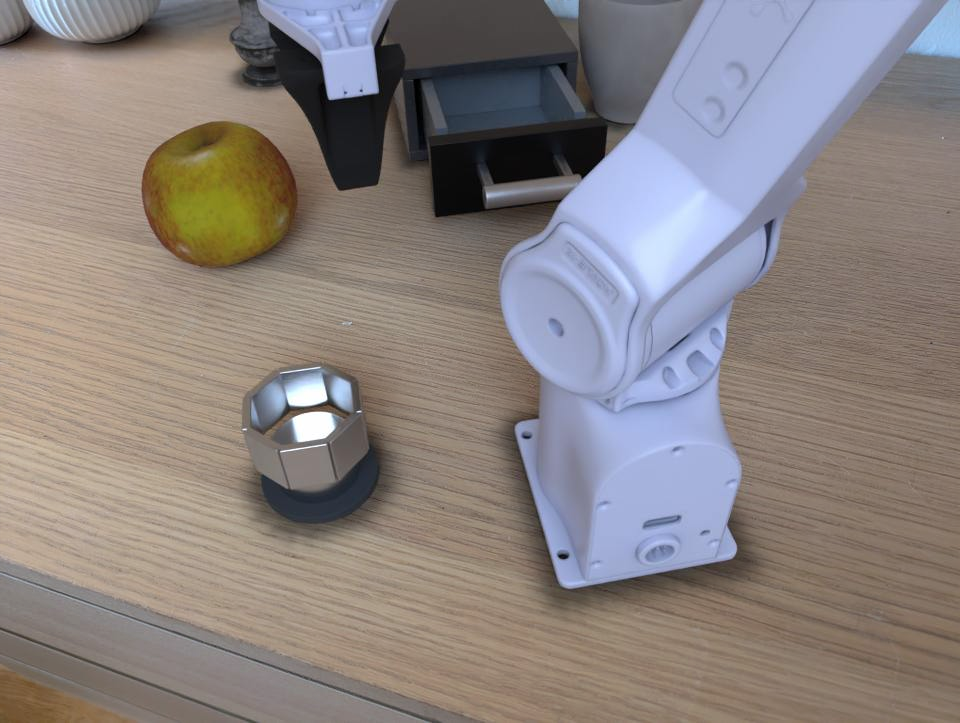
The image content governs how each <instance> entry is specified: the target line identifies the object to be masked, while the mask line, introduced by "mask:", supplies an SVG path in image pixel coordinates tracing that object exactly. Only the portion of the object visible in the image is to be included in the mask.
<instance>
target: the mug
mask: <svg viewBox="0 0 960 723" xmlns="http://www.w3.org/2000/svg"><path fill="white" fill-rule="evenodd" d="M702 2H703V0H578V7H577V8H578V10H577V14H578V15H577V28H578V29H577V30H578V45H579V54H580V60H581V65H582V70H583V75H584V78H585V81H586V84H587V88H588V89H589V92H590V94H591V98H592V101H593V106H594V110H595V112H596V113H597V114H598V115H599V117H600V116H603V118H604V119H605V120H608V121H611V122H613V123H618V124H636V122H637V120H638V119H639V117H640V115H641V113H642V111H643V110H644V108H645V106H646V104H647V102H648V100H649V99H650V97H651V95H652V93H653V91H654V89H655V88H656V86H657V84H658V82H659V80H660V78H661V77H662V75H663V73H664V71H665V69H666V67H667V66H668V64H669V62H670V60H671V58H672V57H673V55H674V53H675V51H676V49H677V47H678V46H679V44H680V42H681V40H682V38H683V36H684V35H685V33H686V31H687V29H688V27H689V25H690V24H691V22H692V20H693V18H694V16H695V14H696V13H697V11H698V9H699V7H700V5H701V4H702Z"/></svg>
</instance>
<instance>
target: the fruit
mask: <svg viewBox="0 0 960 723" xmlns="http://www.w3.org/2000/svg"><path fill="white" fill-rule="evenodd" d="M141 178H142V179H141V200H142V206H143V210H144V215H145V216H146V219H147V221H148V225H149V227H150V228H151V231H152V232H153V233H154V235H155V237H156V238H157V240H158V241H159V242H160V243H161V245H162V246H163V247H164V248H166V250H167V251H169V252H170V253H171V254H173V255H174V257H176V258H178V259H179V260H181V261H183V262H185V263H189V264H192V265H195V266H199V267H208V268H213V267H214V268H215V267H227V266H231V265H236V264H239V263H242V262H244V261H247V260H249V259H252V258H254V257H256V256H259V255H261V254H262V253H264V252H267V251H268V250H270V249H271V248H273V247H274V246H275V245H276V244H278V243H279V242H280V241H282V239H283V238H284V236H285V235H286V234H287V233H288V232H289V230H290V229H291V226H292V224H293V222H294V220H295V218H296V214H297V210H298V188H297V183H296V179H295V175H294V173H293V171H292V168H291V166H290V165H289V162H288V161H287V159H286V158H285V156H284V155H283V154H282V152H281V151H280V149H279V148H278V147H277V146H276V145H275V143H273V142H272V140H270V139H269V138H268V137H267V135H264V134H263V133H261V132H260V131H259V130H257V129H255V128H253V127H251V126H249V125H247V124H245V123H244V124H243V123H240V122H235V121H230V120H229V121H228V120H218V121H217V120H216V121H209V122H205V123H202V124H199V125H196V126H193V127H191V128H188V129H186V130H184V131H181V132H179V133H178V134H176V135H174V136H172V137H171V138H169V139H167V140H166V141H164V142H163V143H161V144H160V145H158V147H156V148H155V150H154V151H152V153H151V154H150V155H149V157H148V159H147V160H146V163H145V166H144V169H143V172H142V177H141Z"/></svg>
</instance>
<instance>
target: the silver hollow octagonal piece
mask: <svg viewBox="0 0 960 723" xmlns="http://www.w3.org/2000/svg"><path fill="white" fill-rule="evenodd" d="M241 406H242V408H241V432H242V435H243V438H244V441H245V444H246V447H247V450H248V453H249V456H250V458H251V462H252V465H253V467H254V468H255V470H256V472H259V473H260V474H261V475H262V474H263V475H265V476H267V477H268V478H270V479H272V480H273V481H275V482H277V483H278V486H279V488H280V489H281V491H282V492H283V493H284V494H285V495H287V496H288V497H289V498H291V499H293V500H296V501H298V502H303V503H321V502H326V501H329V500H332V499H334V498H336V497H338V496H340V495H342V494H343V493H344V492H346V491H347V490H348V489H349V488H350V487H351V486H352V485H353V483H354V482H355V480H356V479H357V477H358V474H359V471H360V460H361V459H362V458H363V457H364V456H365V455H366V454H367V453H368V450H369V443H370V442H369V436H368V435H369V434H368V426H367V418H366V413H365V407H364V402H363V396H362V390H361V385H360V381H359V380H358V378H357V377H355V376H354V375H351V374H349V373H347V372H345V371H343V370H341V369H340V368H337V367H336V366H333V365H331V364H329V363H327V362H325V361H324V362H322V361H316V362H310V363H303V364H296V365H290V366H283V367H278V369H274V370H273V371H272V372H270V373H269V374H268V375H267V376H265V377H263V379H262V380H261V381H259V382H258V383H257V384H256V385H255V386H253V387H252V388H251V389H250V390H249V391H247V392H246V393H245V394H244V397H242V405H241ZM321 407H331V408H333V409H334V410H337V411H339V412H340V413H342V414H345V416H346V418H344V417H342V416H340V415H338V414H336V413H332V412H329V411H309V412H305V413H301V414H297V415H296V416H295V415H294V416H293V417H291V418H290V419H287V420H286V421H284V422H283V424H281V425H280V426H279V427H278V428H277V429H276V430H275V431H274V433H273V434H272V436H271V438H270V437H268V436H267V435H266V434H267V433H268V432H269V431H270V430H271V429H272V428H273V427H275V426H276V425H277V424H278V423H279V422H280V421H281V420H283V419H284V418H285V417H286V416H287V415H288V414H289V413H291V412H296V411H301V410H309V409H315V408H321ZM368 442H369V443H368Z"/></svg>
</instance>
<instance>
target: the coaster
mask: <svg viewBox="0 0 960 723" xmlns="http://www.w3.org/2000/svg"><path fill="white" fill-rule="evenodd" d="M368 443H369V450H368V453H367V454H366V455H365V456H364V457H363V458H362V459H361V460H360V471H359V474H358V477H357V479H356V480H355V482H354V483H353V485H352V486H351V487H350V488H349V489H348V490H347V491H346V492H344V493H343V494H342V495H340V496H338V497H336V498H334V499H332V500H329V501H326V502H321V503H303V502H298V501H296V500H293V499H291V498H289V497H288V496H287V495H285V494H284V493H283V492H282V491H281V489H280V488H279V486H278V483H277V482H275V481H273V480H272V479H270V478H268V477H267V476H265V475H263V474H262V473H261V476H260V478H261V479H260V483H261V489H262V493H263V495H264V498H265V500H266V502H267V504H268V505H269V507H270V508H271V509H272V510H273V511H274V512H275V513H277V514H278V515H279V516H281V517H283V518H285V519H287V520H289V521H292V522H295V523H299V524H306V525H307V524H308V525H313V524H315V525H316V524H325V523H329V522H333V521H337V520H339V519H341V518H344V517H346V516H348V515H350V514H351V513H353V512H355V511H356V510H357V509H359V508H360V507H361V506H363V504H365V503H366V502H367V501H368V499H369V498H370V497H371V496H372V494H373V492H374V491H375V489H376V487H377V484H378V480H379V476H380V464H379V459H378V455H377V452H376V450H375V448H374V447H373V444H371V443H370V442H369V441H368Z"/></svg>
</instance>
